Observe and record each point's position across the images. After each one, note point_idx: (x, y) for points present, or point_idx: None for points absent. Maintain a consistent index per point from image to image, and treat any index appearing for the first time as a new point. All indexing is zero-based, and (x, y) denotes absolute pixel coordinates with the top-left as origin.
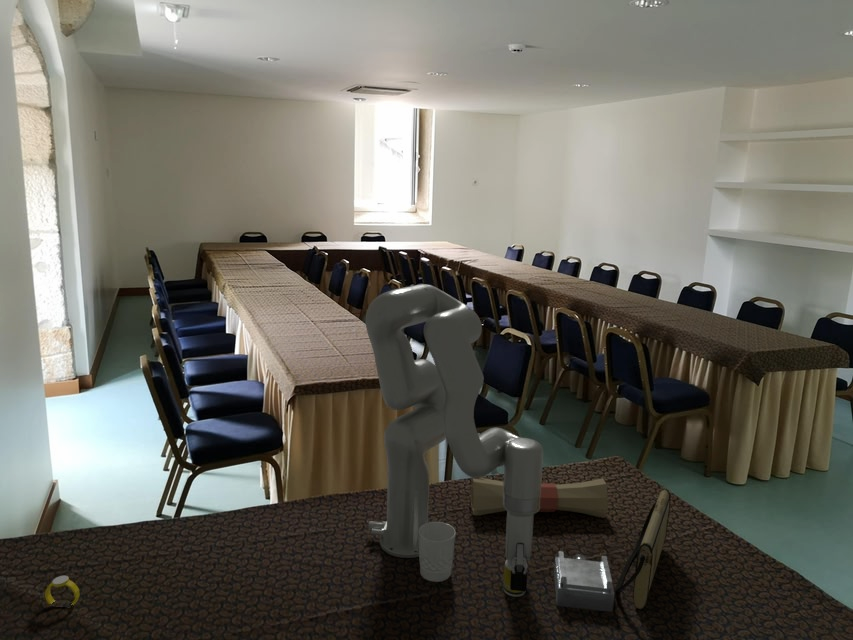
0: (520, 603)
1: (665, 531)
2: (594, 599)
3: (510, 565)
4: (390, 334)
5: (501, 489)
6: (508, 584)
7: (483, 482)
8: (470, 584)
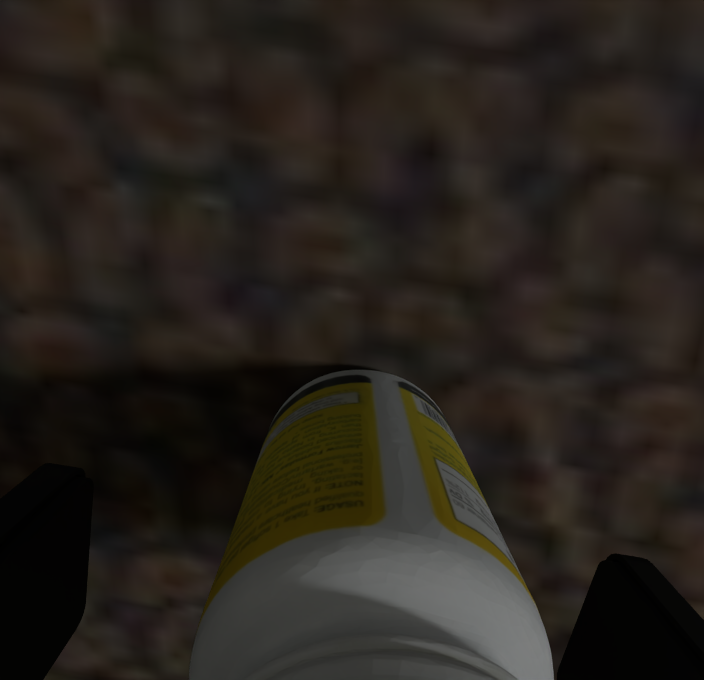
0: (196, 467)
1: None
2: None
3: (271, 634)
4: None
5: None
6: (279, 439)
7: None
8: (462, 59)
